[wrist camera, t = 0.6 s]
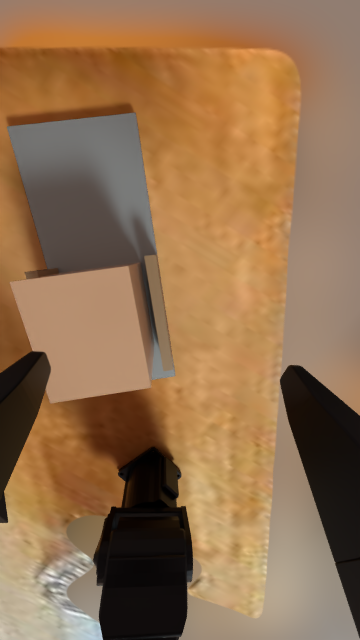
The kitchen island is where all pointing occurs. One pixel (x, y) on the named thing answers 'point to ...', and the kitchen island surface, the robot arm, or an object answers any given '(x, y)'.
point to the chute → (93, 205)
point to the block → (90, 329)
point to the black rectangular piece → (3, 510)
